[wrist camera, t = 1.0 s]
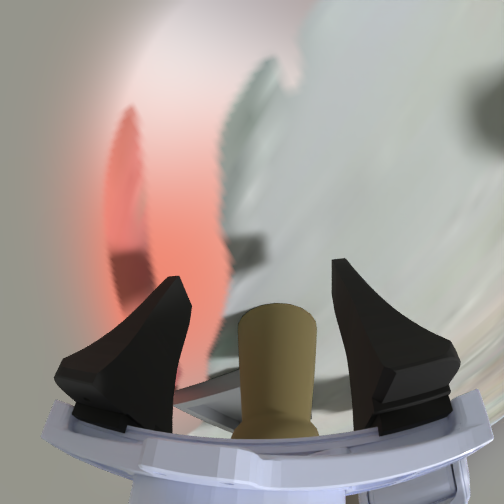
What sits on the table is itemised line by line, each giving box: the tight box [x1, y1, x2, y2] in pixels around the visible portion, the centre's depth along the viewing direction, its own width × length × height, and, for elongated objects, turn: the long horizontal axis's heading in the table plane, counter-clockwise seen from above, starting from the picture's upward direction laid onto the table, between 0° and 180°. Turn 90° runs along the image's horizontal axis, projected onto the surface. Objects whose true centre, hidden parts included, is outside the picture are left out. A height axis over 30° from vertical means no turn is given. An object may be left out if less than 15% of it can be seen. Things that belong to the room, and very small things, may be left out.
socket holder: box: [173, 370, 312, 433], centre depth 27 cm, size 11×11×2 cm
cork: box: [231, 303, 319, 439], centre depth 16 cm, size 6×6×11 cm
